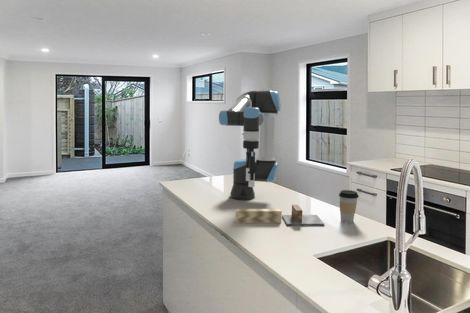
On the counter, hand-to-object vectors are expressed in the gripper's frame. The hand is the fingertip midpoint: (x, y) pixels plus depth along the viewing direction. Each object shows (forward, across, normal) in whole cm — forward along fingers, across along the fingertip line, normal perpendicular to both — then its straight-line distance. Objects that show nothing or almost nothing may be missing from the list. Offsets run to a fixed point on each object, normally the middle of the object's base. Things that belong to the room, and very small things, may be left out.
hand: (249, 183), depth 183 cm
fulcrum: (+19, 0, +27) cm, 33 cm away
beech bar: (+19, 0, +5) cm, 20 cm away
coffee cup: (+19, +1, +49) cm, 53 cm away
